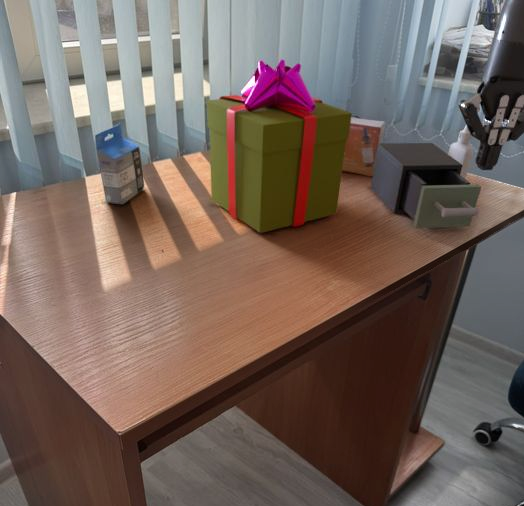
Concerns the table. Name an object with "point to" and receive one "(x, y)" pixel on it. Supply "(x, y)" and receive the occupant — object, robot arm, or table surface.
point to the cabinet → (405, 168)
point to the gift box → (276, 151)
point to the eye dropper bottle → (462, 151)
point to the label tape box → (119, 166)
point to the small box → (362, 145)
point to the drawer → (439, 198)
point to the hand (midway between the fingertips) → (484, 168)
